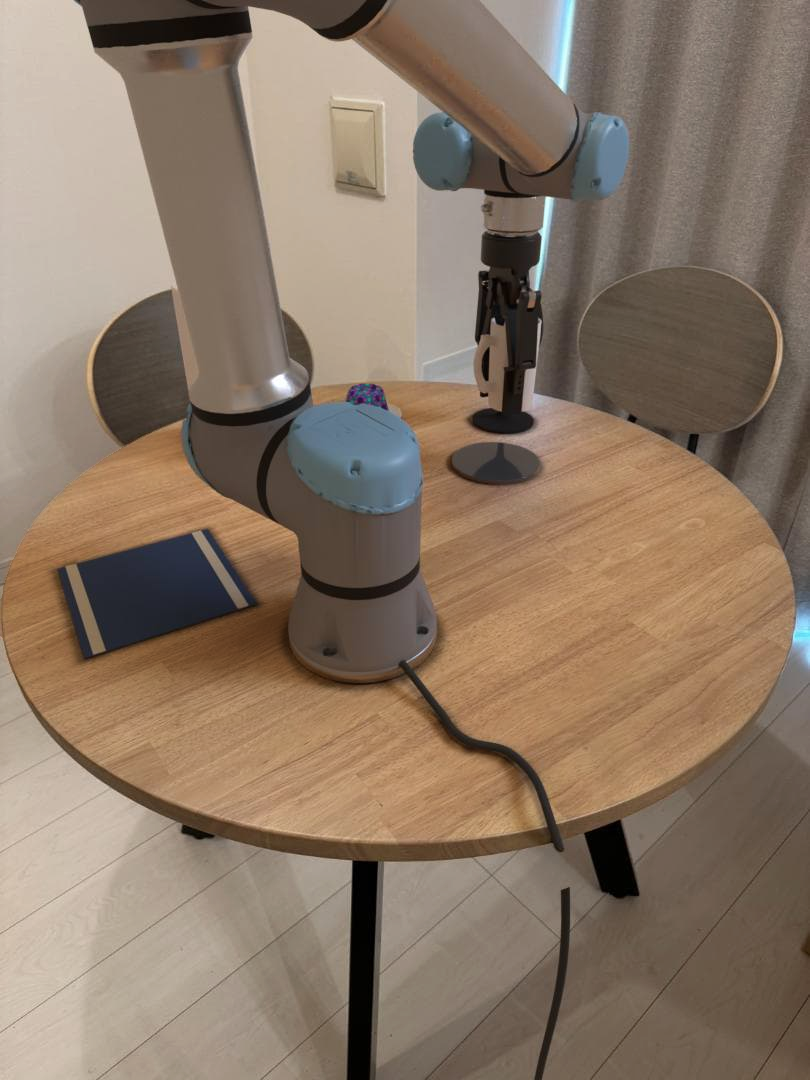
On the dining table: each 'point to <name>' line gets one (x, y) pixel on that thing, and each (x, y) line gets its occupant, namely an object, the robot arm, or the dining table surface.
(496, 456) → the coaster
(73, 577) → the placemat
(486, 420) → the wine glass
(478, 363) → the mug
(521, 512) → the dining table surface
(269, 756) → the dining table surface
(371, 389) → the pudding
